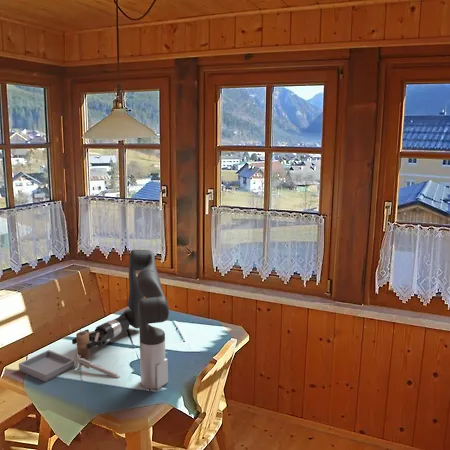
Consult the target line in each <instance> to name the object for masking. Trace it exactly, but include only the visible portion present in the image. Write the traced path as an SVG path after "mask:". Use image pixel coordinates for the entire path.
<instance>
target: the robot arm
mask: <svg viewBox="0 0 450 450" xmlns="http://www.w3.org/2000/svg"><path fill="white" fill-rule="evenodd" d="M136 271H137V272H139V273H138V274H136V273H137V272H136ZM158 273H159V272H158V269H157V264H156V257H155V254H154V252H153V250H150V249H132V250H130V252H129V257H128V300H127V307H128V309H126V310H124V311H123V313H121V315H119V316H118V317H115V318H114V319H112V320H109V321H106V322H104V323H101V324H100V325H98V326H96V327H95V329H94V330H93V331H90V330H89V329H88V328H87V329H84V331H86V332H89V342H90V343H88V344H87V349H90V350H91V349H93V348H95V347H99V348H103V347H104V346H106V345H107V344H109V343H110V342H111V340H112V339H114V338H116V337H118V336H119V335H121V334H123V333H124V332H126V331H128V330H129V328H130V326H131V327H132V328H134V329H139V360H140V361H139V362H140V364H139V365H140V367H139V368H140V384H141V386H142V387H143V388H144V389H145V388H146V389H150V390H151V389H153V390H154V389H155V390H160V389H161V388H162V387H164V386H165V385H167V383H168V382H169V371H168V370H169V367H168V365H169V363H168V362H169V360H168V358H166V333H165V331H164V330H163V329H162V328H159V327H155V326H153V325H150V324H157V323H159V324H160V323H164V322H166V321H168V318H169V315H170V307H169V303H168V301H167V297H166V296H165V293H164V291H163V288H162V283H161V279H160V277H159V274H158ZM71 343H72V345H77V337H75V338H72V342H71Z"/></svg>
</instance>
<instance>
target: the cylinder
mask: <svg viewBox="0 0 450 450" xmlns="http://www.w3.org/2000/svg"><path fill="white" fill-rule="evenodd" d="M89 332H90V331H89ZM89 332H86V331H85V330H82V331H79V332H77V333H76V337H77V343H76V347H77V348H76V350H77V354H78V355H79V356H80V355H81V357H80V359H81V358H83V359H85V360H88V359H90V357H91V348H90V349H87V344H88V343H90V342H91V341H89ZM76 337H75V338H76Z"/></svg>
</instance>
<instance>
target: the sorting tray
mask: <svg viewBox="0 0 450 450" xmlns="http://www.w3.org/2000/svg"><path fill="white" fill-rule="evenodd" d="M74 359H75V358H73V357H72V358H71V357H70V356H66V355H64V354H61V353H58V352H55V351H52V350H50V349H47V350H46V351H44V352H43V351H42V352H41V353H39V354H37V355H35V356H33V357H30V358H28V359H26V360H24V361H22V362H20V363H18V371H19V372H21V373H24V374H25V373H26V375H28V376H30V375H31V376H30V377H33V378H35V379H37V378H38V379H37V380H41V381H43V382H45V383H49V382H50V381H51V380H53V379H55V378H57V377H60V376H61V375H63V374H65V373H66V372H69V371H70V370H72V369H75V368H74Z"/></svg>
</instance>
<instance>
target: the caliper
mask: <svg viewBox="0 0 450 450" xmlns="http://www.w3.org/2000/svg"><path fill="white" fill-rule="evenodd" d="M80 357H81V355H80V356H79V355H78V353H77V354H76V356H75V357H74V358H73V359H74V368H73V369H77V370H80V368H81V369H82V367H84V368H86V369H93V370H94V371H97V372H100V373H103V374H104V375H107V376H109V377H111V378H117V379H119V378H120V377H121V376H120V375H119V374H118V373H116V372H114V371H111V370H109V369H107V368H104V367H102V366H100V365H97V364H95V363H93V362H91V361H90V360H88V359H83V358H81V359H80Z"/></svg>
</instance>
